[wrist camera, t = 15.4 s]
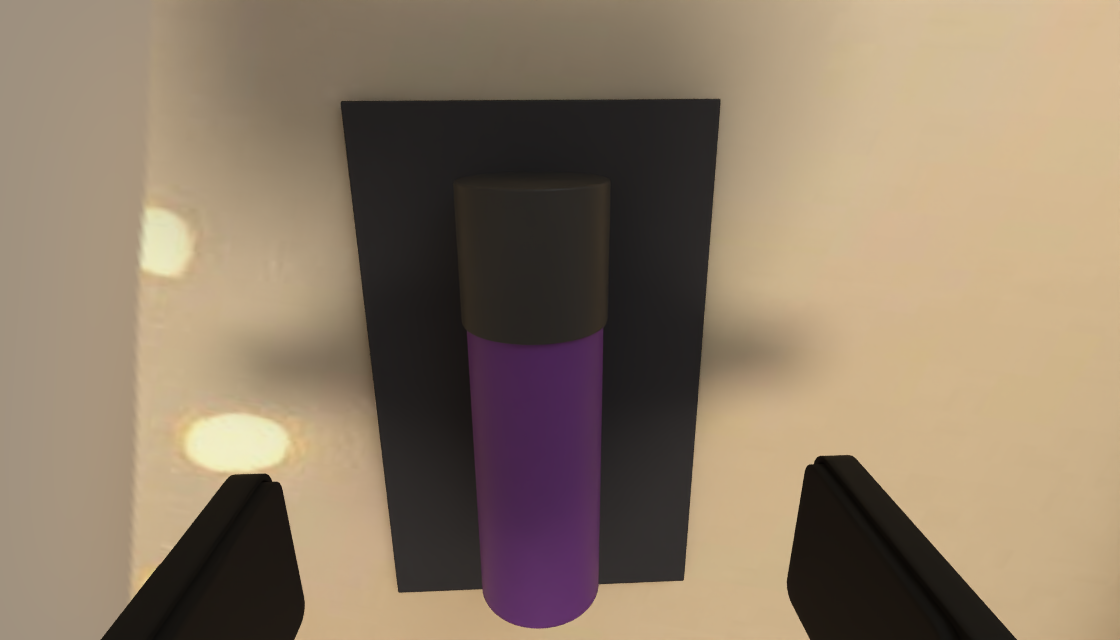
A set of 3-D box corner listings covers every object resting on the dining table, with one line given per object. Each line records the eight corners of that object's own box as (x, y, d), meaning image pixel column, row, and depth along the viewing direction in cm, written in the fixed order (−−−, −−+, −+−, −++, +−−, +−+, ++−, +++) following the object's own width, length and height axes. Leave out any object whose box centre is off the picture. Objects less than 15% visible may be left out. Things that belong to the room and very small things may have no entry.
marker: (485, 543, 20) (471, 636, 17) (464, 172, 16) (439, 189, 13) (597, 542, 21) (607, 634, 17) (603, 171, 16) (619, 187, 13)
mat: (344, 101, 16) (340, 101, 16) (716, 99, 16) (721, 99, 16) (400, 584, 21) (397, 593, 21) (681, 573, 22) (683, 581, 21)
